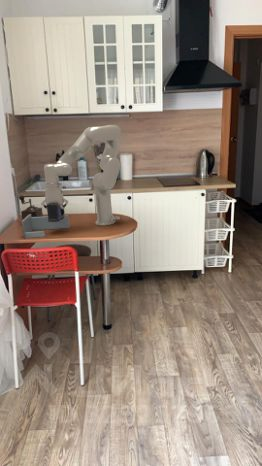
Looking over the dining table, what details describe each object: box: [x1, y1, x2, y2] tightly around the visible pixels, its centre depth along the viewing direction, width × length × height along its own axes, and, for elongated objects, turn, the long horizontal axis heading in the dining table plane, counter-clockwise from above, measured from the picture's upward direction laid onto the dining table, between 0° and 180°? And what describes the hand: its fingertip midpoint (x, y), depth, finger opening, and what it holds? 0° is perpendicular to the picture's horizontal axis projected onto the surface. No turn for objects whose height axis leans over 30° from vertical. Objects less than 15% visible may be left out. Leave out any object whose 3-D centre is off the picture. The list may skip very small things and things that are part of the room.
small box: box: [46, 204, 65, 222], centre depth 224 cm, size 11×6×10 cm, turn 169°
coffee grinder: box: [18, 195, 44, 221], centre depth 252 cm, size 16×11×18 cm
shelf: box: [20, 214, 71, 239], centre depth 227 cm, size 24×17×10 cm
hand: (56, 215), depth 225 cm, fingers closed on small box, 7 cm apart
